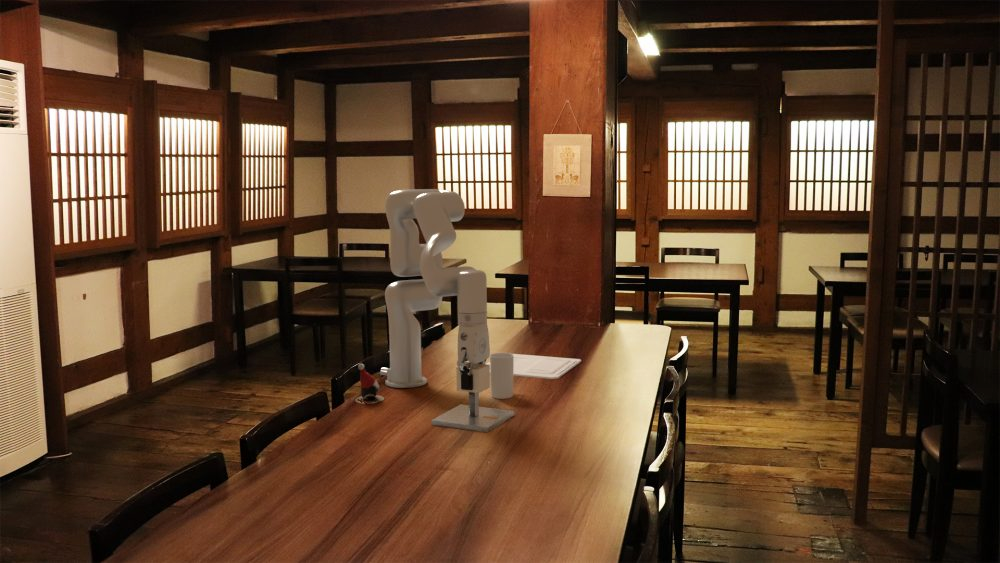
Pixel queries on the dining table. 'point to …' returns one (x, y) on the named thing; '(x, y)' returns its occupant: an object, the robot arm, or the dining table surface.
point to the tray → (541, 366)
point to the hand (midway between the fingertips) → (473, 385)
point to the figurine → (368, 387)
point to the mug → (501, 375)
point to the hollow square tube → (476, 378)
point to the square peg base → (473, 416)
